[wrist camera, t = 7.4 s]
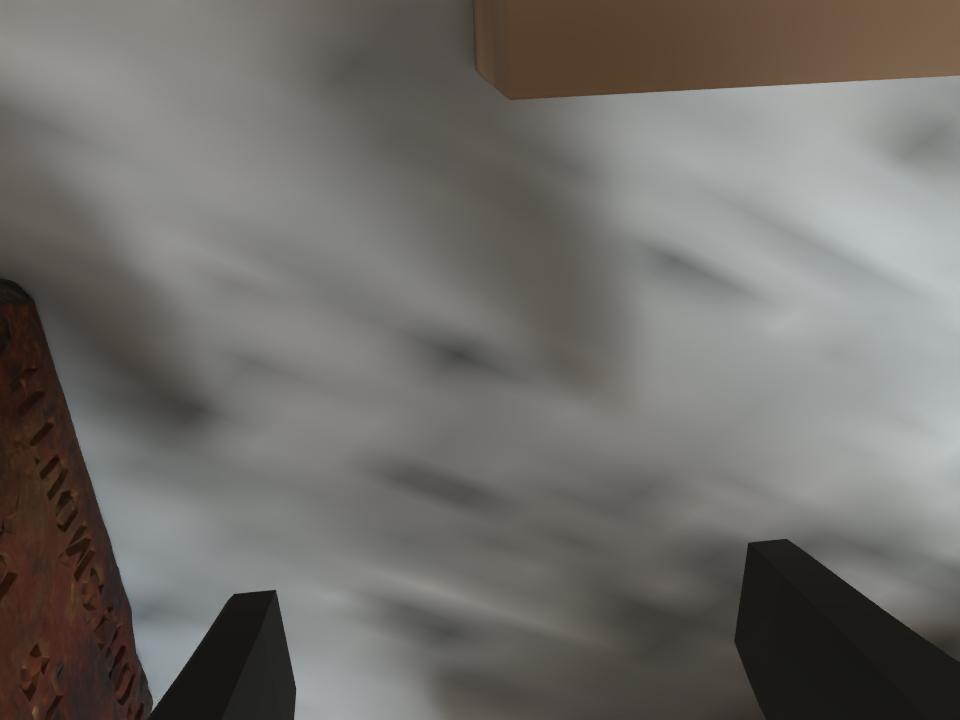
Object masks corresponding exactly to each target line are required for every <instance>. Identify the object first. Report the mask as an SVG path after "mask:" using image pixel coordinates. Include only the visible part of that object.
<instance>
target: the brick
mask: <svg viewBox="0 0 960 720" xmlns="http://www.w3.org/2000/svg"><path fill="white" fill-rule="evenodd" d="M152 706H153V699H152V696H151V694H150V692H149V691H148V681H147V678H146V676H145V673H144V671H143V669H142V667H141V664H140V662H139V659H138V657H137V655H136V648H135V639H134V633H133V627H132V612H131V607H130V604H129V601H128V599H127V596H126V593H125V590H124V587H123V585H122V582H121V577H120V572H119V568H118V567H117V565H116V562H115V559H114V555H113V551H112V547H111V542H110V539H109V536H108V533H107V530H106V528H105V525H104V522H103V519H102V516H101V513H100V510H99V507H98V503H97V500H96V497H95V493H94V490H93V487H92V483H91V480H90V477H89V474H88V472H87V469H86V466H85V463H84V460H83V456H82V453H81V450H80V447H79V444H78V441H77V437H76V434H75V430H74V427H73V424H72V420H71V417H70V413H69V410H68V407H67V403H66V400H65V396H64V393H63V391H62V388H61V385H60V383H59V380H58V377H57V374H56V371H55V368H54V365H53V361H52V358H51V355H50V351H49V348H48V345H47V342H46V338H45V335H44V332H43V329H42V326H41V323H40V319H39V316H38V313H37V310H36V307H35V303H34V300H33V299H32V298H31V297H30V296H29V295H28V294H27V293H26V292H25V291H24V290H23V289H22V288H21V287H20V286H19V285H18V284H16V283H14V282H13V281H9V280H5V279H0V720H147V718H148V717H149V716H150V714H151V710H152Z"/></svg>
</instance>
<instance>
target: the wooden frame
mask: <svg viewBox="0 0 960 720" xmlns="http://www.w3.org/2000/svg"><path fill="white" fill-rule="evenodd" d="M473 14H474V39H475V64H476V71H477V72H478V73H479V74H480V75H481V76H482V77H484V78H485V79H486V80H487V81H488V82H489V83H491V84H492V85H493V86H494V87H495V88H496V89H498V90H499V91H500V92H501V93H502V94H503V95H504V96H506V97H507V98H508V99H509V100H515V99H534V98H552V97H571V96H589V95H607V94H626V93H644V92H662V91H681V90H699V89H718V88H736V87H754V86H773V85H791V84H810V83H828V82H846V81H865V80H883V79H901V78H920V77H938V76H956V75H960V0H473Z"/></svg>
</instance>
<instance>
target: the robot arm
mask: <svg viewBox="0 0 960 720" xmlns="http://www.w3.org/2000/svg"><path fill="white" fill-rule="evenodd" d="M734 642H735V644H736V647H737V650H738V652H739V655H740V658H741V660H742V663H743V666H744V668H745V671H746V674H747V676H748V679H749V681H750V684H751V686H752V689H753V691H754V694H755V696H756V698H757V701H758V703H759V706H760V708H761V710H762V711H763V713H764V715H765V717H766V719H767V720H960V662H958V661H957V660H955V659H954V658H952V657H951V656H949V655H947V654H946V653H945V652H943V651H942V650H940V649H939V648H937V647H936V646H934V645H933V644H931V643H930V642H928V641H927V640H925V639H924V638H922V637H921V636H920V635H918V634H917V633H915V632H914V631H912V630H911V629H910V628H908V627H907V626H905V625H904V624H903V623H901V622H900V621H898V620H897V619H896V618H894V617H893V616H891V615H890V614H889V613H887V612H886V611H884V610H883V609H882V608H880V607H879V606H878V605H876V604H875V603H873V602H872V601H871V600H869V599H868V598H867V597H865V596H864V595H862V594H861V593H860V592H858V591H857V590H856V589H854V588H853V587H852V586H850V585H849V584H848V583H846V582H845V581H844V580H842V579H841V578H840V577H838V576H837V575H836V574H834V573H833V572H832V571H830V570H829V569H827V568H826V567H825V566H823V565H822V564H821V563H819V562H818V561H817V560H815V559H814V558H813V557H811V556H810V555H809V554H807V553H806V552H804V551H803V550H802V549H800V548H799V547H797V546H796V545H795V544H793V543H792V542H790V541H789V540H787V539H781V540H771V541H761V542H751V543H748V549H747V556H746V563H745V570H744V577H743V584H742V591H741V598H740V605H739V612H738V619H737V626H736V633H735V640H734ZM295 699H296V686H295V681H294V676H293V671H292V666H291V661H290V656H289V651H288V647H287V642H286V637H285V632H284V627H283V622H282V617H281V612H280V607H279V603H278V598H277V593H276V590H270V591H260V592H250V593H240V594H234V595H233V596H232V597H231V598H230V599H229V600H228V601H227V603H226V604H225V606H224V607H223V609H222V611H221V612H220V614H219V615H218V617H217V618H216V620H215V621H214V623H213V625H212V626H211V628H210V629H209V631H208V632H207V634H206V635H205V637H204V638H203V640H202V641H201V643H200V644H199V646H198V647H197V649H196V650H195V652H194V653H193V655H192V656H191V658H190V659H189V661H188V662H187V664H186V665H185V667H184V668H183V669H182V671H181V672H180V674H179V675H178V677H177V678H176V679H175V681H174V682H173V684H172V685H171V686H170V688H169V689H168V691H167V692H166V693H165V695H164V696H163V698H162V699H161V700H160V702H159V703H158V704H157V706H156V707H155V709H154V710H153V711H152V713H151V714H150V716H149V717H148V718H147V720H294V713H295Z"/></svg>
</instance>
